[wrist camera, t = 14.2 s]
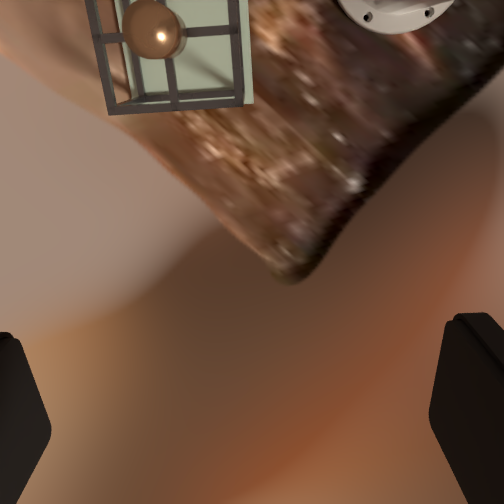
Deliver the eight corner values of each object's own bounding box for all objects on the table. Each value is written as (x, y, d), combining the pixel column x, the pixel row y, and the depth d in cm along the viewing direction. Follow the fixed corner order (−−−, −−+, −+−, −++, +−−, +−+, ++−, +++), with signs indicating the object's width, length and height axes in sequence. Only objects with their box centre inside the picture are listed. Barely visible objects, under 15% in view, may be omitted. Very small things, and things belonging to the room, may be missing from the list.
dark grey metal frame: (237, -32, 35) (227, -87, 22) (245, 95, 40) (241, 115, 26) (119, -23, 36) (37, -72, 22) (141, 102, 40) (84, 125, 27)
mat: (245, -42, 36) (245, -44, 35) (253, 102, 41) (253, 103, 40) (110, -32, 36) (108, -33, 35) (135, 110, 41) (134, 111, 41)
